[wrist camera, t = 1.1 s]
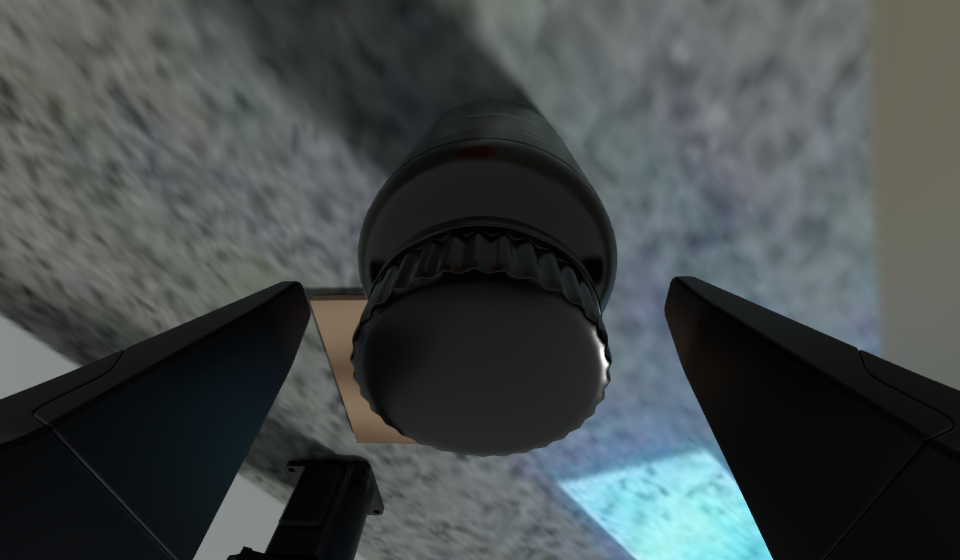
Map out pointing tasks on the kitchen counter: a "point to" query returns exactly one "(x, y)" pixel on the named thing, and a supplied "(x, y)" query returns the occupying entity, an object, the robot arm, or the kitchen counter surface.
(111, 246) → the kitchen counter surface
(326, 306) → the tan board
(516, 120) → the supplement bottle
